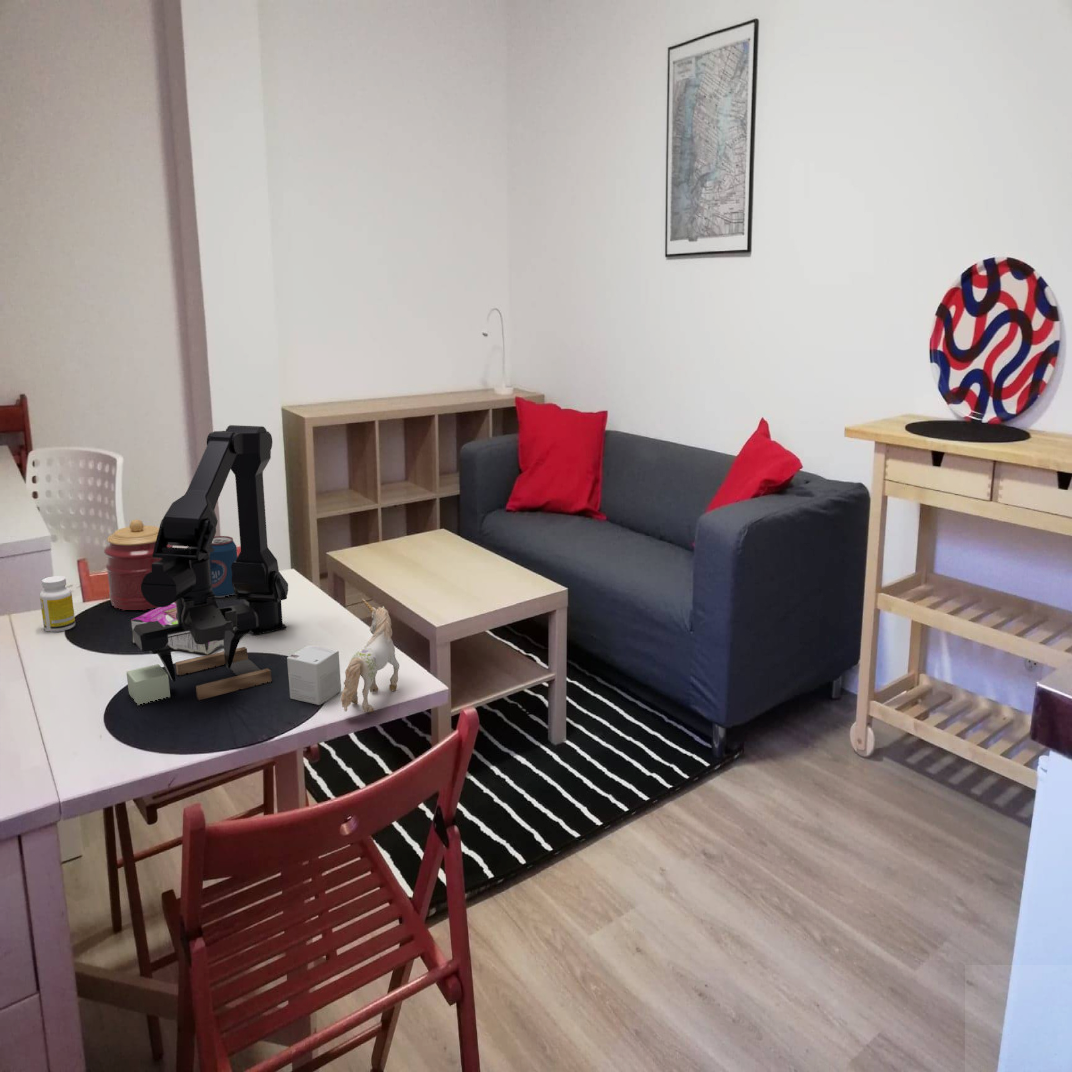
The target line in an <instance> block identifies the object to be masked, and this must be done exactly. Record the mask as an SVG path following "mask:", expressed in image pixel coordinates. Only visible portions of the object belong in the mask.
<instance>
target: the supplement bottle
mask: <svg viewBox="0 0 1072 1072" xmlns="http://www.w3.org/2000/svg"><path fill="white" fill-rule="evenodd" d="M41 585H42V588H43V589H42V590H41V592H40V593H39V600H40V609H41V616H42V624H43V628H44V631H47V632H52V633H54V632H55V633H56V632H58V633H59V632H64V631H67V630H70V629H72V628H74V627H75V626H76V616H75V609H74V602H73V594H72V591H71V588H70V587H67V579H66V577H65V576H63V575H54V576H48V577H46V578H45V577H44V578H43V579H42V580H41Z"/></svg>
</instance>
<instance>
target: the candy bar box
mask: <svg viewBox="0 0 1072 1072" xmlns="http://www.w3.org/2000/svg"><path fill="white" fill-rule="evenodd" d="M176 613H177V608H176V601H175V602H174V603H172V604H171V605H169V606H167V607H157V608H155V609H150V610H148V611H147V612H145V613H143V614H140V615H139V616H137V617H134V618H132V619H131V620H130V627H131V633H132V634H131V635H132V642H133V644H136V643H135V642H134V639H133V629H134V628H135V626H136V625H139V624H144V623H149V622H154V621H159V622H160V623H161V625H162V626H163V627H164V626H169V625H174V624H178V620H177V619H176ZM167 644H168V645H169V646H170V647H171V648H172V650H178V651H182V652H183V651H184V652H188V653H189V652H190V653H196V654H203V655H210V654H211V653H213V652H214V651H216V650H217V649H220V648H221V647H224V641H223V640H220V641H218V640H216V641H212V642H207V643H206V644H202V645H200V644H197V643H195V641H194V639H193V637H192V635H191V633H189V634H184V635H180V636H175V637H170V638H168V643H167Z"/></svg>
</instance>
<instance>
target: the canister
mask: <svg viewBox="0 0 1072 1072" xmlns="http://www.w3.org/2000/svg"><path fill="white" fill-rule="evenodd" d="M159 528H160V527H157V526H155V525H146V524H145V525H144V523H143V521H142V520H140V519H133V520H131V521H130V523H129V526H125V527H122V528H119V529H117V530H115V531H114V532H113V533H112V534H110V535H109V536H108V537H107V542H108V543H109V544H108V545H107V546H106V547H105V548H104V549H103V553H104V554H105V555H106V556H107V563H106V565H105V567H106V571H107V577H108V588H109V593H108V595H109V601H110V602H111V606H112V607H113V606H114V607H113V608H115V609H117V608H119V609H118V610H120V609H122V610H121V611H125V610H143V611H147V610H146V609H150V608H157V606H154V605H152V604H150V603H149V602H148V601H147V600H146V599H145V598H144V596H143V594H142V591H141V584H142V580H143V578H144V577H145V576H146V575H147V574H148V573H150V572H152V569H151V565H152V563H154V562H157V561H160V560H162V558H153V557H152V555H153V551H154V547H155V543H156V539H157V535H158V531H159ZM167 547H174V546H172V545H169V544H168V545H167ZM150 610H151V609H150Z"/></svg>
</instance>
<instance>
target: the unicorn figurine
mask: <svg viewBox="0 0 1072 1072" xmlns="http://www.w3.org/2000/svg"><path fill="white" fill-rule="evenodd" d="M361 601H362V602H363V603H364V604H365V606H366V608H368V610H369V611H370V613H371V620H372V621H371V625H370V627H369V631H370V633H371V634H372V636H371V638H370V639H369V640H368V641H367V643H366V644H365V646H364V648H363V649H361V650H358V651H357V652H356V653H355V654H354V655H353V656H352V657H351V659H350V660H349V663H348V665H347V668H346V669H345V671H344V673H345V680H344V682H343V685H344V688H343V690H342V693H341V697H340V703H341V707H342V708H343V710H344V712H348V707H350V706H351V704H355V705H357V704H358V700H359V696H358V687H359V684H360V683H359V682H360V678H362V679H363V682H364V683H363V689H362V691H361V693H362V697H363V701H362V703H361V704H362V705H361V708H362V710H363V713H364V714H366V713H367V712H368V713H372V712H375V711H374V708H373V706H372V705H371V704H370V703H369V698H368V697H369V696H368V695H369V693H373V691H374V692H377V691H378V690H379V687H378V685H377V682H376V681H377V680H376V677H377V676H376V675H377V673H378V671H380V670H382V669H384V668H385V667H386V666H387V664H390V665H392V668H393V674H392V675H391V677H390V679H389V681H390V684H389V686H388V688H389V691H391V692H396V691H397V687H398V681H399V670H400V663H399V661H398V660H397V657H396V647H395V645H394V641H393V639H392V636H393V630H392V620H391V617H390V615H389V611H388V610H387V609H386V608H385V606H382V607H381V606H378V608H377V609H376V607H374V606H372V605H371V604H370V603H369V602H368V601H366V599H364V598H361ZM392 690H393V691H392Z"/></svg>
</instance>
